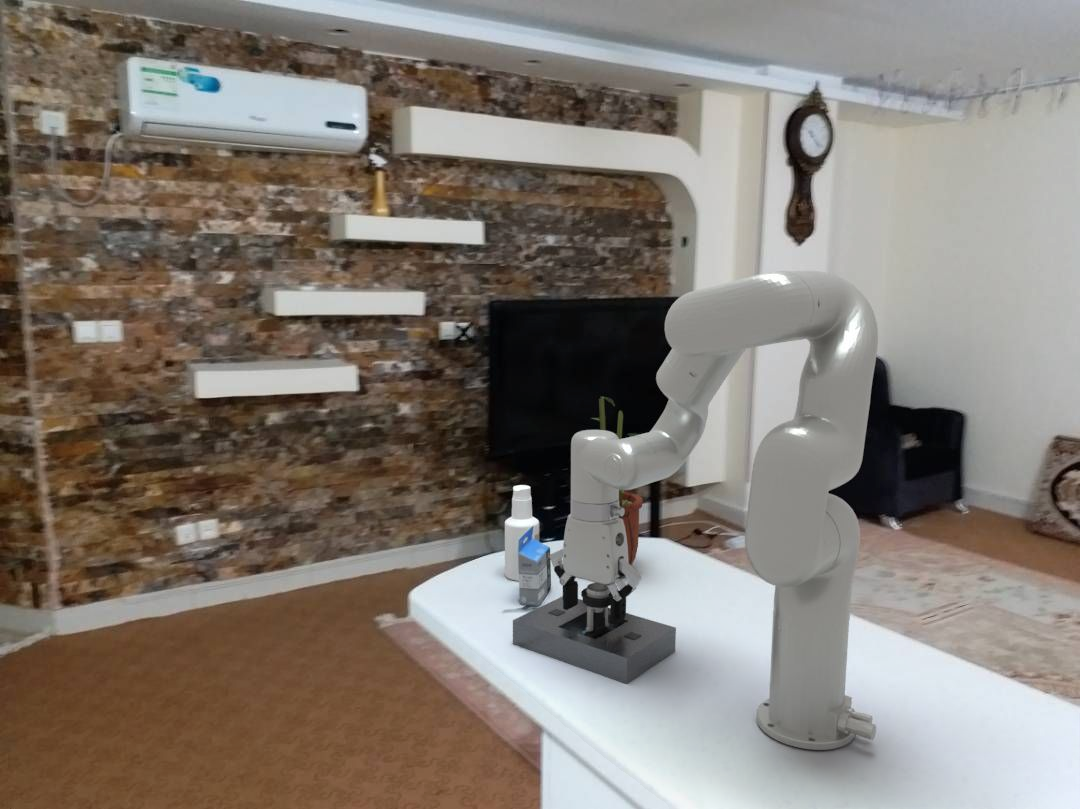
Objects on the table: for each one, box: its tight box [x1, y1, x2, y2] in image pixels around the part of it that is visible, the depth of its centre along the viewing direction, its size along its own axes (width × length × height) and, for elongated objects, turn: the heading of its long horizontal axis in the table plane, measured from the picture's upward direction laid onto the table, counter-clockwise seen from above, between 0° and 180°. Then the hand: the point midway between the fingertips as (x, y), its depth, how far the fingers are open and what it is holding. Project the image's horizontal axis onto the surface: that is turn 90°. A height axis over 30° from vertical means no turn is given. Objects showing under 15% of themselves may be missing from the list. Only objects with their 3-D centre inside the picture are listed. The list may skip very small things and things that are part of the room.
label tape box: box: [518, 526, 552, 607], centre depth 161 cm, size 9×4×12 cm, turn 164°
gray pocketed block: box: [512, 595, 677, 685], centre depth 140 cm, size 22×14×4 cm, turn 51°
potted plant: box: [591, 396, 643, 566], centre depth 172 cm, size 17×16×35 cm
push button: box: [580, 582, 614, 639], centre depth 139 cm, size 7×5×10 cm
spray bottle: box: [504, 484, 540, 582], centre depth 171 cm, size 7×7×18 cm
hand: (593, 614), depth 139 cm, fingers open, 8 cm apart
